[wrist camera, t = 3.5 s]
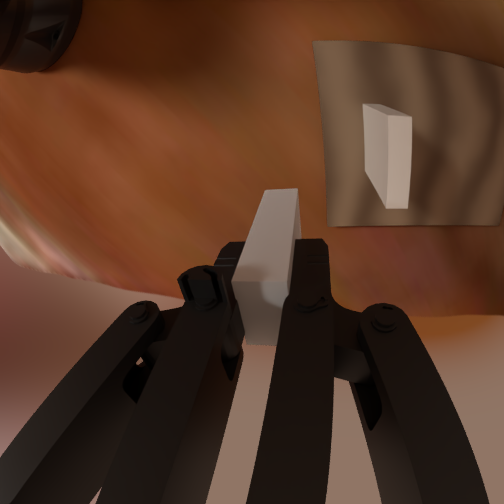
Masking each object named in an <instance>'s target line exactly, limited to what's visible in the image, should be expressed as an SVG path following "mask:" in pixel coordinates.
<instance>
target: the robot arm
mask: <svg viewBox="0 0 504 504" xmlns="http://www.w3.org/2000/svg"><path fill="white" fill-rule="evenodd" d="M81 9H82V0H0V69H4V70H10V71H15V72H21V73H32V72H37V71H42V70H44V69H46V68H48V67H50V66H51V65H52V64H54V63H55V62H56V61H57V60H58V59H59V58H60V56H61V55H62V54H63V53H64V51H65V50H66V48H67V47H68V45H69V43H70V42H71V40H72V38H73V36H74V33H75V31H76V28H77V26H78V23H79V19H80V15H81ZM177 281H178V284H179V286H180V289H181V292H182V294H183V297H184V299H185V303H184V305H183V306H182V307H179V308H174V309H169V310H164V311H160V310H159V308H158V306H157V304H156V303H154V302H152V301H140V302H137V303H135V304H133V305H131V306H129V307H128V308H127V309H126V310H125V311H124V312H123V313H122V314H121V315H120V316H119V317H118V318H117V319H116V320H115V321H114V322H113V324H111V325H110V327H109V328H108V329H107V330H106V331H105V332H104V333H103V334H102V335H101V336H100V337H99V338H98V340H97V341H96V342H95V343H94V344H93V345H92V346H91V347H90V348H89V350H88V351H87V352H86V353H85V354H84V355H83V356H82V357H81V358H80V360H79V361H78V362H77V363H76V364H75V365H74V366H73V368H72V369H71V370H70V371H69V372H68V373H67V374H66V376H65V377H64V378H63V379H62V380H61V381H60V383H59V384H58V385H57V386H56V387H55V389H54V390H53V391H52V392H51V393H50V394H49V396H48V397H47V398H46V399H45V401H44V402H43V403H42V404H41V405H40V407H39V408H38V409H37V411H36V412H35V413H34V414H33V415H32V417H31V418H30V419H29V420H28V422H27V423H26V424H25V425H24V427H23V428H22V429H21V431H20V432H19V433H18V434H17V436H16V437H15V438H14V440H13V441H12V442H11V444H10V445H9V446H8V448H7V449H6V450H5V452H4V453H3V454H2V456H1V457H0V504H89V503H90V502H91V501H92V499H93V498H94V496H95V495H96V494H97V492H98V491H99V490H100V488H101V487H102V488H101V491H100V494H99V496H98V499H97V501H96V504H205V503H206V500H207V496H208V492H209V489H210V485H211V481H212V477H213V474H214V470H215V467H216V462H217V459H218V455H219V452H220V448H221V444H222V440H223V437H224V432H225V429H226V425H227V421H228V417H229V413H230V409H231V406H232V402H233V398H234V394H235V390H236V386H237V382H238V378H239V374H240V370H241V366H242V362H243V349H242V342H243V338H244V335H245V339H246V343H247V344H249V345H271V346H272V345H273V346H277V347H276V353H275V359H274V365H273V371H272V377H271V383H270V388H269V394H268V400H267V405H266V410H265V416H264V421H263V426H262V431H261V436H260V441H259V446H258V451H257V456H256V461H255V466H254V470H253V475H252V479H251V484H250V488H249V493H248V497H247V502H246V504H325V501H326V493H327V484H328V475H329V465H330V453H331V438H332V420H333V419H332V418H333V394H334V377H336V378H340V379H343V380H347V381H349V383H350V386H351V390H352V393H353V396H354V400H355V403H356V407H357V410H358V413H359V417H360V420H361V424H362V427H363V431H364V434H365V438H366V442H367V445H368V449H369V453H370V457H371V461H372V464H373V468H374V472H375V476H376V480H377V485H378V489H379V493H380V497H381V502H382V504H489V500H488V497H487V493H486V490H485V487H484V483H483V480H482V477H481V473H480V471H479V467H478V465H477V462H476V459H475V456H474V453H473V450H472V448H471V445H470V443H469V440H468V437H467V435H466V432H465V430H464V428H463V425H462V423H461V420H460V418H459V416H458V413H457V411H456V409H455V407H454V405H453V402H452V400H451V398H450V396H449V394H448V392H447V389H446V387H445V385H444V383H443V381H442V379H441V377H440V375H439V373H438V372H437V369H436V367H435V365H434V363H433V361H432V359H431V357H430V356H429V354H428V352H427V350H426V348H425V346H424V344H423V343H422V341H421V339H420V337H419V335H418V334H417V332H416V330H415V328H414V327H413V325H412V323H411V321H410V320H409V318H408V316H407V315H406V314H405V313H404V311H403V310H402V309H400V308H398V307H396V306H395V305H391V304H387V303H379V304H374V305H371V306H369V307H367V308H366V309H365V310H364V311H363V312H362V313H361V312H356V311H352V310H349V309H346V308H344V307H342V306H340V305H339V304H338V303H337V302H336V301H335V300H334V299H333V297H332V294H331V283H330V266H329V252H328V245H327V244H326V243H325V242H324V240H323V239H322V238H320V239H301V227H300V213H299V200H298V188H296V189H276V190H265V192H264V195H263V197H262V200H261V203H260V205H259V208H258V211H257V213H256V216H255V219H254V221H253V224H252V227H251V229H250V232H249V235H248V237H247V240H246V241H245V242H229V243H228V244H227V245H226V246H224V247H223V248H222V249H221V251H220V253H219V255H218V257H217V259H216V261H215V263H214V266H209V265H203V266H196V267H194V268H191V269H188V270H187V271H185V272H184V273H182V274H181V275H180V276H179V278H178V279H177ZM140 357H141V358H142V359H143V362H142V363H140V364H139V365H136V362H137V361H138V360H139V358H140Z"/></svg>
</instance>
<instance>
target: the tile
mask: <svg viewBox="0 0 504 504" xmlns="http://www.w3.org/2000/svg"><path fill="white" fill-rule="evenodd" d="M363 120H364V145H365V172H366V174H367V175H368V177H369V179H370V180H371V182H372V184H373V186H374V187H375V189H376V191H377V193H378V195H379V196H380V198H381V200H382V202H383V204H384V206H385V208H386V209H408V200H409V189H410V175H411V156H412V117H411V116H409V115H406V114H404V113H402V112H399V111H397V110H394V109H391V108H389V107H386V106H384V105H381V104H363Z"/></svg>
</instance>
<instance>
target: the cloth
mask: <svg viewBox="0 0 504 504" xmlns="http://www.w3.org/2000/svg"><path fill="white" fill-rule="evenodd" d="M312 45H313V51H314V58H315V65H316V73H317V81H318V89H319V98H320V108H321V118H322V129H323V142H324V157H325V174H326V198H327V225H328V227H336V226H389V225H487V226H499V224H500V220H501V216H502V212H503V207H504V68H502V67H499V66H496V65H493V64H490V63H487V62H483V61H480V60H477V59H473V58H469V57H466V56H462V55H458V54H453V53H449V52H444V51H440V50H434V49H429V48H423V47H417V46H410V45H402V44H393V43H383V42H369V41H312ZM363 104H381V105H384V106H386V107H389V108H391V109H394V110H397V111H399V112H402V113H404V114H406V115H409V116H411V117H412V156H411V175H410V189H409V200H408V209H386V208H385V206H384V204H383V202H382V200H381V198H380V196H379V195H378V193H377V191H376V189H375V187H374V186H373V184H372V182H371V180H370V179H369V177H368V175H367V174H366V172H365V145H364V120H363Z"/></svg>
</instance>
